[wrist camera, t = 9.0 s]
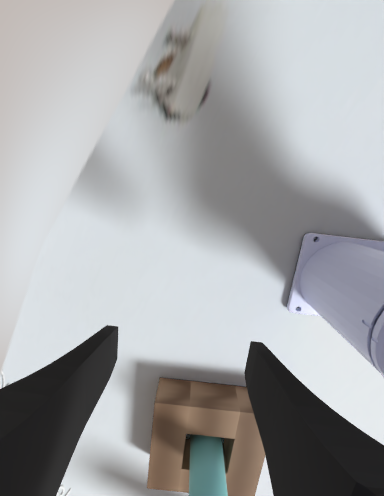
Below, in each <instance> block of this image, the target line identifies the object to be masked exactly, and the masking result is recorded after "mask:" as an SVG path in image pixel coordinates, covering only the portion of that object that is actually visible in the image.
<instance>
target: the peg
mask: <svg viewBox="0 0 384 496" xmlns="http://www.w3.org/2000/svg"><path fill="white" fill-rule="evenodd" d="M189 496H228V493H227V484H226V475H225V465H224V456H223V446H222V437H213V436H203V435H194V434H190V469H189Z"/></svg>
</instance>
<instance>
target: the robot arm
mask: <svg viewBox="0 0 384 496" xmlns="http://www.w3.org/2000/svg"><path fill="white" fill-rule="evenodd" d="M315 237H317V240H316V241H313V239H314V238H315ZM297 307H299V309H296V308H297ZM287 309H288V310H289V311H290V312H291V313H299V314H308V315H317V316H321V317H322V318H324V319H325V320H326V321H327V322H328V323H329V324H330V325H331V326H332V327H333V328H334V329H335V330H336V331H337V332H338V333H339V334H340V335H341V336H342V337H343V338H344V339H346V340H347V341H348V342H349V343H350V344H351V345H352V346H353V347H354V348H355V349H356V350H357V351H358V352H359V353H360V354H361V355H362V356H363V357H364V358H365V359H366V360H367V361H369V362H370V363H371V364H372V365H373V366H374V367H375V368H376V369H377V370H378V371H379V372H380V373H381V374H382V375H383V377H384V241H377V240H368V239H360V238H351V237H342V236H334V235H325V234H316V233H307V234H306V235H305V236H304V238H303V242H302V246H301V250H300V254H299V259H298V263H297V267H296V271H295V275H294V279H293V284H292V288H291V292H290V296H289V300H288V304H287ZM117 348H118V327H117V326H108V325H107V326H105V327H104V328H103V329H101V330H100V331H98V332H97V333H96V334H94V335H93V336H92V337H90V338H89V339H87V340H86V341H85V342H83V343H82V344H80V345H79V346H77V347H76V348H75V349H73V350H71V351H70V352H68V353H67V354H65V355H64V356H62V357H61V358H59V359H57V360H56V361H54V362H52V363H51V364H49V365H47V366H46V367H44V368H42V369H40V370H38V371H36V372H35V373H33V374H31V375H29V376H27V377H25V378H23V379H21V380H18V381H16V382H14V383H12V384H10V385H8V386H6V387H4V388H2V389H0V496H56V494H57V492H58V489H59V487H60V484H61V482H62V479H63V477H64V474H65V472H66V469H67V467H68V465H69V462H70V460H71V457H72V455H73V453H74V450H75V448H76V445H77V443H78V441H79V438H80V436H81V434H82V432H83V430H84V428H85V425H86V423H87V421H88V420H89V418H90V416H91V414H92V412H93V410H94V408H95V406H96V404H97V402H98V400H99V398H100V396H101V394H102V393H103V391H104V389H105V387H106V385H107V383H108V381H109V379H110V376H111V374H112V371H113V369H114V366H115V363H116V361H117ZM245 379H246V385H247V391H248V395H249V399H250V402H251V406H252V409H253V413H254V416H255V420H256V423H257V426H258V430H259V433H260V437H261V440H262V444H263V447H264V451H265V455H266V460H267V465H268V469H269V474H270V479H271V484H272V489H273V494H274V496H384V445H382V444H381V443H379V442H378V441H376V440H375V439H373V438H371V437H370V436H369V435H367V434H366V433H364V432H363V431H361V430H360V429H358V428H357V427H355V426H354V425H353V424H351V423H350V422H349V421H347V420H346V419H345V418H343V417H342V416H340V415H339V414H338V413H337V412H335V411H334V410H333V409H331V408H330V407H329V406H328V405H326V404H325V403H324V402H323V401H322V400H320V399H319V398H318V397H317V396H316V395H314V394H313V393H312V392H311V391H310V390H309V389H308V388H307V387H306V386H305V385H303V384H302V383H301V382H300V381H299V380H298V379H297V378H296V377H295V376H294V375H293V374H292V373H291V372H290V371H289V370H288V369H287V368H286V367H285V366H284V365H283V364H282V363H281V362H280V361H279V360H278V359H277V358H276V357H275V355H274V354H273V353H272V352H271V351H270V350H269V349H268V348H267V347H266V346H265V345H264V344H263V343H261V342H252V341H251V343H250V348H249V353H248V358H247V363H246V368H245Z"/></svg>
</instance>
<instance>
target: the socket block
mask: <svg viewBox="0 0 384 496" xmlns="http://www.w3.org/2000/svg"><path fill="white" fill-rule="evenodd" d="M186 434H194V435H203V436H213V437H222V438H225V439H224V443H222V446H223V456H224V465H225V475H226V484H227V493H228V496H255V492H256V489H257V485H258V481H259V477H260V473H261V469H262V466H263V462H264V458H265V451H264V447H263V444H262V440H261V437H260V433H259V430H258V426H257V423H256V420H255V416H254V413H253V409H252V406H251V402H250V399H249V395H248V391H247V387H241V386H232V385H223V384H214V383H205V382H196V381H187V380H178V379H168V378H160V379H159V384H158V388H157V393H156V398H155V404H154V415H153V426H152V438H151V449H150V460H149V471H148V482H147V488H149V489H158V490H168V491H177V492H187V493H189V469H190V439H186Z"/></svg>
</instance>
